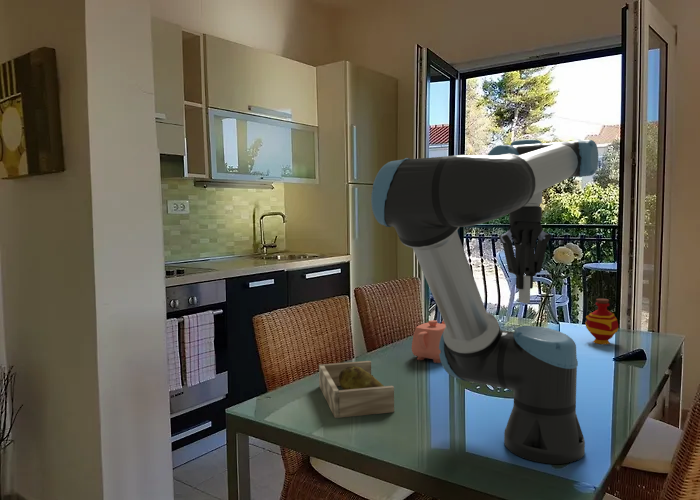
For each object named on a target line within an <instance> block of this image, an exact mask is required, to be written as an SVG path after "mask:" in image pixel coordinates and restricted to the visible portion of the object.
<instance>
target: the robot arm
mask: <svg viewBox="0 0 700 500" xmlns="http://www.w3.org/2000/svg"><path fill="white" fill-rule="evenodd" d="M598 166H599V149H598V146H597V143H596V142H595V141H594V140H592V139H576V140H567V141H566V140H565V141H555V142H545V143H543V142H542V141H541V140H540V139H539V140H538V139H518V140H513V141H512V142H511V143H510V144H508V143H507V144H499V145H496V146H494V147H493V148H491V149H490V151H489V152H488V154H486V155H483V154H457V155H455V154H454V155H446V156H435V157H423V158H420V157H419V158H410V157H405V158H404V159H397V160H391V161H387V163H385V164H384V165H382V167H381V168H380V169H379V171H378V172H377V173H376V175H375V178H374V181H373V184H372V189H371V202H370V204H371V211H372V213H373V216H374V218H375V220H376V221H377V223H378V224H379V225H381V226H384V227H387V228H391V227H393V228H394V229H395V232H396V233H397V235H398V239H399V241H400V243H401V244H402V245H404V246H406V247H407V248H411V249H412V250H413V252H414V255H415V256H416V257H415V258H416V259H417V261H418V264H419V266H420V268H421V271H422V273H423V276H424V278H425V280H426V283H427V285H428V288H429V290H430V292H431V294H432V297H433V299H434V301H435V304H436V306H437V309H438V311H439V313H440V315H441V318H442V321H443V320H444V323H445V325H446V327H445V329H444V332H443V334H442V336H441V339H440V343H439V349H440V350H441V353H440V354H439V355H440V360H441V365H442V368H443V369H444V371H445V372H446V373H447V374H448V375H449V376H451V377H453V378H456V379H459V380H462V381H464V382H470V383H475V384H481V385H486V386H491V387H496V388H501V389H506V390H511V391H513V406H512V409H511V412H510V415H509V417H508V421H507V422H506V425H505V428H504V432H503V433H504V435H503V440H504V441H503V443H504V446H505V447H506V449H507V450H509V451H510V452H511V453H512V454H514V455H516V456H518V457H521V458H523V459H525V460H529V461H532V462H537V463H541V464H549V465H551V464H552V465H555V464H556V465H561V464H569V462H570V463H574V462H577V461H579V460H581V459H582V458H583V457H584V456H585V449H586V448H585V447H586V442H585V441H586V440H585V437H584V434H583V431H582V427H581V425H580V422H579V418H578V415H577V412H576V411H577V409H576V408H577V372H578V370H577V369H578V366H579V365H578V362H579V361H578V358H577V357H578V356H577V344H576V342H575V340H573V338H572V337H570V336H569V335H567V334H566V333H563V332H562V331H559V330H555V329H552V328H549V327H544V326H539V325H538V326H537V325H536V326H533V325H520V326H517V327H515V329H514V331H508V330H502V329H501V326H500V324H499V321H498V320H497V318H496V316H495V315H493V314H492V313H490V312H487V310H486V308H485V307H486V306H485V305H484V302H483V299H482V297H481V294H480V291H479V289H478V286H477V283H476V281H475V278H474V273H473V272H472V269H471V265H470V264H469V261H468V257H467V255H466V252H465V249H464V246H463V244H462V240H461V239H460V235H459V232H458V230H459V229H460V228H463V227H472V226H477V225H480V224H481V225H482V224H485V223H487V222H490V221H494V220H496V219H498V218H502V217H504V216H506V215H508V221H509V225H508V228H507V231H506V232H505V233H503V234H501V233H500V235H498V239H499V240H500V242H501V243H502V248H503V251H504V256H505V261H506V265H507V271H508V273H511V274H514V275H515V287H516V289H518V302H520V303H523V304H530V303H531V289H533V287H534V277H535V276H536V274H537V273H538V274H539V273H541V272H542V268H543V263H544V259H545V255H546V251H547V250H546V249H547V246H548V243H549V241H550V239H551V238H552V234H551V233H547V232H545V231H544V230H543V225H542V224H541V223H542V220H543V219H542V218H543V217H542V215H543V208H542V206H540V205H541V204H543V191H544V190H547V189H548V188H551V187H552V186H555V185H556V184H560V183H561V182H563V181H565V180H568V179H570V178H582V177H591V176H594V174H596V172H597V170H598ZM537 239H538V240H537ZM512 240H513V241H514V243H513V242H512ZM513 244H514V246H513ZM514 249H515V250H514ZM578 459H579V460H578ZM576 460H577V461H576ZM573 461H574V462H573Z"/></svg>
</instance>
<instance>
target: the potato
mask: <svg viewBox="0 0 700 500" xmlns="http://www.w3.org/2000/svg"><path fill="white" fill-rule="evenodd" d="M339 383H340V385H341V386H340V387H341V390H349V389H360V388H371V387H382V386H384V384H382V383H381V382H380V381H379V380H378V379H377V378H375V376H374V375H373V374H372V373H371V374H370V373H368V372H366V371H365V370H364V369H362V368H360V367H356V366H349V367H347V368H345V369H343V370H342V371H341V372H340V374H339Z"/></svg>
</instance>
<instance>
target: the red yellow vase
mask: <svg viewBox="0 0 700 500" xmlns="http://www.w3.org/2000/svg"><path fill="white" fill-rule="evenodd" d="M595 300H596V302H595V305H596V306H597V309H595V310H594V311H593V312H592V311H591V312H590V313H589V314H588V315H586V316H585V318H586V321H585V322H584V323H585V328H586V329H587V331H588V332H589V333H590V335H592V336H593V337H594V338H595V339H594V340H593V343H594V344H599V345H610V344H611V343H610V341H609V340H610V339H612V338H613V337H614V336H615V334H617V332H618V331H619V323H618V319H617V317H616V316H615V313H614V312H612V311H610V310H608V307H610V299H607V298H596V299H595Z"/></svg>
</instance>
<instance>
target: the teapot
mask: <svg viewBox="0 0 700 500" xmlns="http://www.w3.org/2000/svg"><path fill="white" fill-rule="evenodd" d="M445 327H446V325H445V323H444V320H443V319H442V321H441V323H439V322H438V320H436V319H431V320H428V322H424V323H422V324H419V325H417V326H416V327H415V331H414V333H413V337H412V341H411V352H412V355H413V356H415V357H416V360H418V361H423V360H425V359H431V360H432V361H433V363H435V364H440V363H441V360H440V355H439V354H440V353H441V350H440V349H439V343H440V339H441V336H442V334H443V332H444V329H445ZM441 364H442V363H441Z"/></svg>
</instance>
